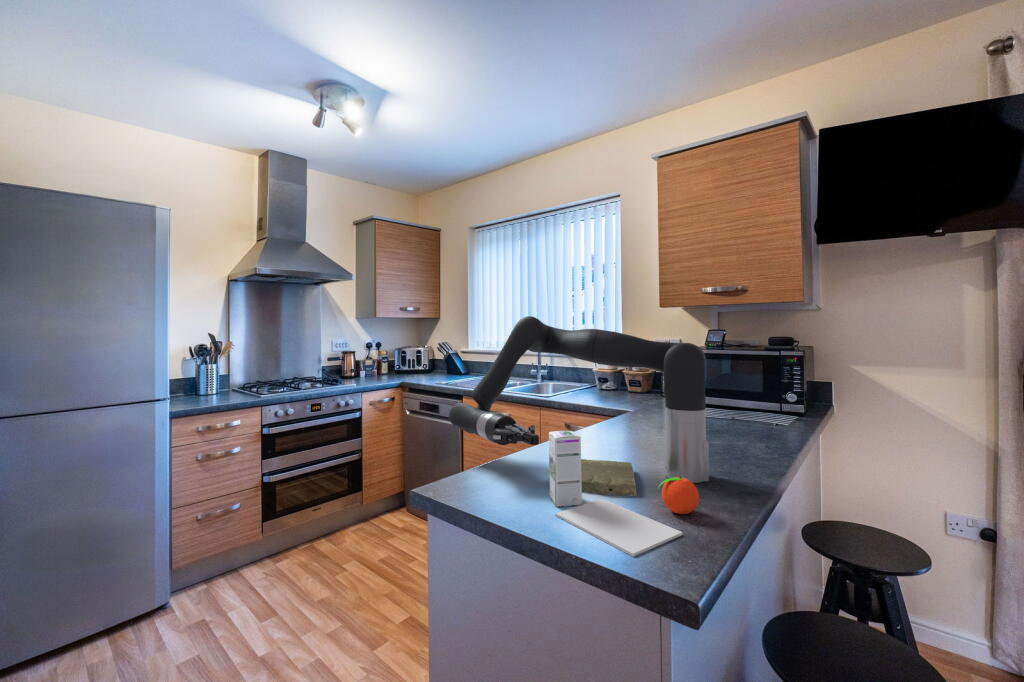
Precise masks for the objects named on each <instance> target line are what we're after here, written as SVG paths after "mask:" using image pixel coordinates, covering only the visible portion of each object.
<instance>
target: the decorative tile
mask: <svg viewBox="0 0 1024 682" xmlns="http://www.w3.org/2000/svg"><path fill="white" fill-rule="evenodd" d="M634 473H635V472H634V469H633V464H632V462H630V461H629V462H628V461H627V462H626V461H615V460H603V459H602V460H599V459H584V458H583V459H582V458H581V479H582V491H588V492H587V493H589V492H592V493H591V494H593V493H601V494H600V495H605V494H618V495H617V496H625V495H632V496H631V497H638V495H637V485H636V479H635V474H634Z"/></svg>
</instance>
